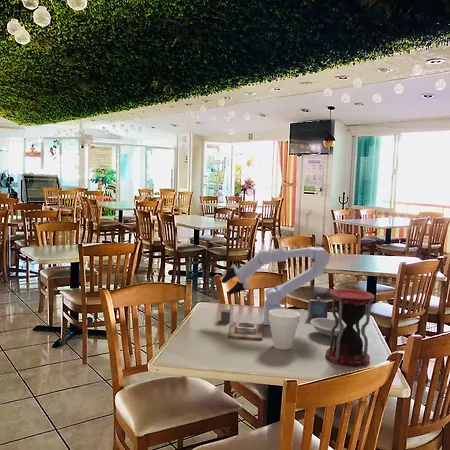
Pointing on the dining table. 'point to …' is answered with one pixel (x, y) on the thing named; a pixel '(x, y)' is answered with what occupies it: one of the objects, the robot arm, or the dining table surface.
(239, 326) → the dock
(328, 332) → the dish
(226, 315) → the grey matte cube
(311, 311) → the flask
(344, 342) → the hourglass
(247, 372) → the dining table surface
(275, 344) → the cup
